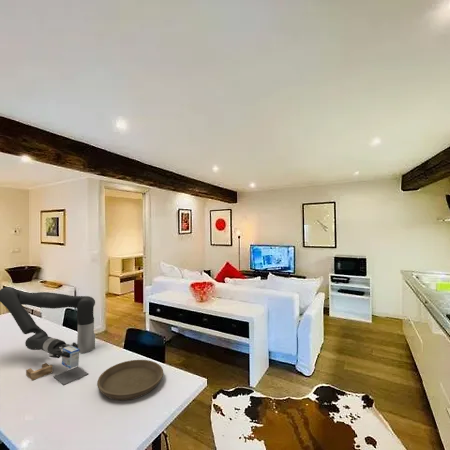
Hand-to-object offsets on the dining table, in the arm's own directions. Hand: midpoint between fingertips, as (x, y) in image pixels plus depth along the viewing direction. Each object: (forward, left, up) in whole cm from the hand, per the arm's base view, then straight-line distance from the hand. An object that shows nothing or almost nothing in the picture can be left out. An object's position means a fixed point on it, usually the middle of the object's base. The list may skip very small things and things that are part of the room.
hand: (74, 353), depth 135 cm
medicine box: (+1, -3, -7) cm, 7 cm away
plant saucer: (-15, +29, -13) cm, 35 cm away
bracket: (+9, -18, -12) cm, 24 cm away
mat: (0, -2, -12) cm, 12 cm away
